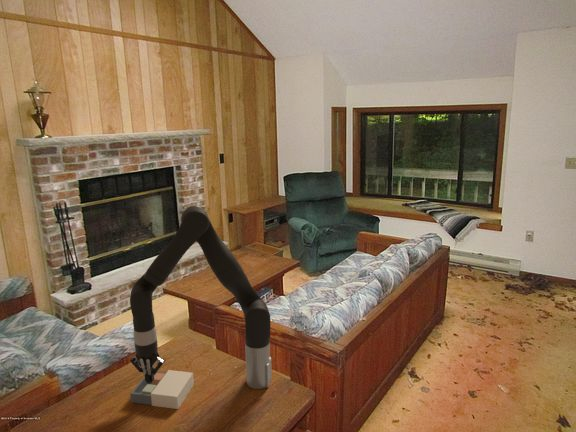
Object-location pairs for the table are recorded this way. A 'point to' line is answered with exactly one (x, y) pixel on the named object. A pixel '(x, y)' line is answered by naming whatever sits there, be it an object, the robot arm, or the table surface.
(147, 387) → the sage green cube
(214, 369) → the table surface
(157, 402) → the cream rectangular block
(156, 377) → the orange cube
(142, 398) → the box
